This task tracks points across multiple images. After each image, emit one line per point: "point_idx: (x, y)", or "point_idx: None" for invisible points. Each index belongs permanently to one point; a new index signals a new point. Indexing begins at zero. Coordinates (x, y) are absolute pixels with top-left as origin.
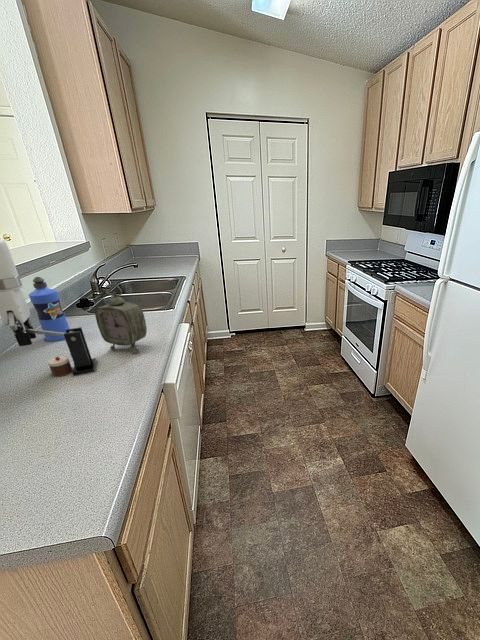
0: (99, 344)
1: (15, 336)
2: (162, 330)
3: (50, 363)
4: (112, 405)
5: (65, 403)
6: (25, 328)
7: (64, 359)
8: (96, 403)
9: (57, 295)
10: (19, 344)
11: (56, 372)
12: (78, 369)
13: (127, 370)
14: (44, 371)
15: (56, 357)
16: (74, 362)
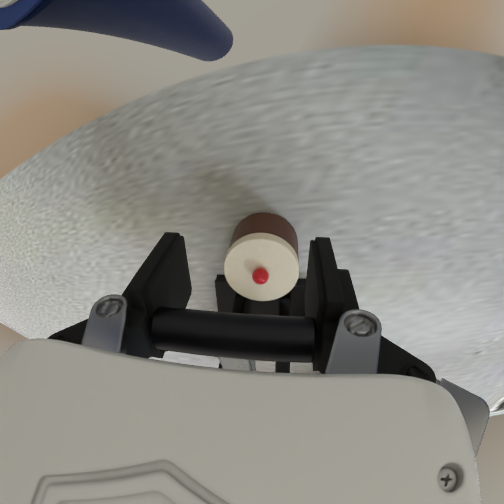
0: (440, 323)
1: (134, 276)
2: None
3: (234, 250)
4: (65, 327)
5: (71, 262)
6: (232, 357)
7: (255, 291)
8: (69, 309)
9: None
10: (162, 241)
11: (232, 238)
12: (232, 295)
13: None
14: (311, 179)
15: (257, 279)
16: (232, 309)
